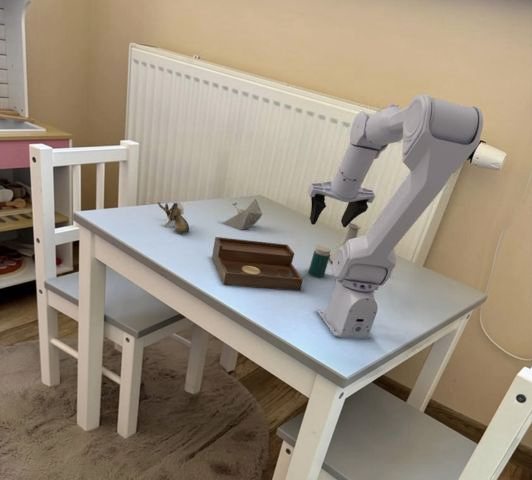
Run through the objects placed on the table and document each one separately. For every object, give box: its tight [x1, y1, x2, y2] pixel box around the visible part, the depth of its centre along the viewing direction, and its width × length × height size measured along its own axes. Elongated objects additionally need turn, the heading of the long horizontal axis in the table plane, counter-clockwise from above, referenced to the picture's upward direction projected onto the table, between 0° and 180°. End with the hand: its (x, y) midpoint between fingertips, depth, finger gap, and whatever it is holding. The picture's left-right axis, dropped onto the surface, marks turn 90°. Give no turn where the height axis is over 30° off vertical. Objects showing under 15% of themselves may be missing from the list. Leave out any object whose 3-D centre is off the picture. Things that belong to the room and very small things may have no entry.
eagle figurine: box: [157, 201, 190, 235], centre depth 125 cm, size 8×7×9 cm
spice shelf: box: [211, 236, 304, 291], centre depth 112 cm, size 13×17×5 cm
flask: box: [329, 222, 361, 263], centre depth 129 cm, size 7×7×10 cm
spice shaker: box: [308, 245, 332, 279], centre depth 119 cm, size 4×4×6 cm
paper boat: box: [222, 198, 263, 230], centre depth 138 cm, size 12×6×9 cm
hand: (327, 222), depth 114 cm, fingers open, 7 cm apart
